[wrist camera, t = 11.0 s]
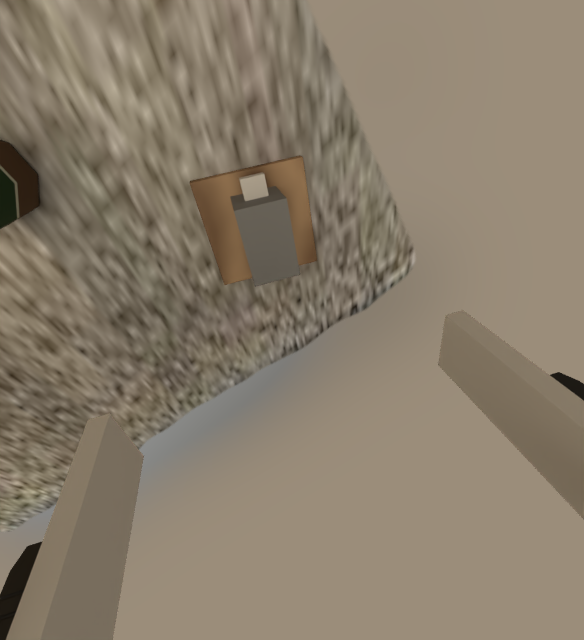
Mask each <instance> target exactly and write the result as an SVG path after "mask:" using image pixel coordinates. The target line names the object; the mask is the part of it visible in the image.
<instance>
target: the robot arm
mask: <svg viewBox="0 0 584 640" xmlns="http://www.w3.org/2000/svg"><path fill="white" fill-rule="evenodd" d="M438 365H439V366H440V368H442V370H443V371H444V372H445V373H446V374H447V375H448V376H449V377H450V378H451V379H452V380H453V381H454V382H455V383H456V384H457V386H458V387H459V388H461V390H462V391H463V392H464V393H465V394H466V395H467V396H468V397H469V398H470V399H471V400H472V401H473V402H474V403H475V405H476V406H477V407H478V408H479V409H480V410H481V411H482V412H483V413H484V414H485V415H486V416H487V417H488V418H489V419H490V421H491V422H492V423H493V424H494V425H495V426H496V427H497V428H498V429H499V430H500V431H501V432H502V433H503V434H504V435H505V436H506V437H507V438H508V440H509V441H510V442H511V443H512V444H513V445H514V446H515V447H516V448H517V449H518V450H519V451H520V452H521V453H522V454H523V456H524V457H525V458H526V459H527V460H528V461H529V462H530V463H531V464H532V465H533V466H534V467H535V468H536V469H537V470H538V471H539V472H540V474H541V475H542V476H543V477H544V478H545V479H546V480H547V481H548V482H549V483H550V484H551V485H552V486H553V487H554V488H555V489H556V491H557V492H558V493H559V494H560V495H561V496H562V497H563V498H564V499H565V500H566V501H567V502H568V503H569V504H570V505H571V506H572V507H573V509H575V511H576V512H577V513H578V514H579V515H580V516H581V517H582V518H583V519H584V384H583V383H581V382H580V381H578V380H575V379H573V378H571V377H569V376H566V375H564V374H562V373H560V372H558V373H555V374H552V375H549V374H547V373H546V372H545V371H543V370H542V369H541V368H539V367H538V366H537V365H535V364H534V363H533V362H531V361H530V360H529V359H527V358H526V357H525V356H523V355H522V354H521V353H519V352H518V351H517V350H515V349H514V348H513V347H511V346H510V345H509V344H507V343H506V342H505V341H503V340H502V339H501V338H499V337H498V336H497V335H495V334H494V333H493V332H491V331H490V330H489V329H487V328H486V327H485V326H483V325H482V324H481V323H479V322H478V321H477V320H475V319H474V318H473V317H471V316H470V315H469V314H467V313H466V312H465V311H463V310H461V311H458V312H454V313H451V314H448V315H445V321H444V328H443V336H442V342H441V349H440V355H439V363H438ZM143 458H144V456H143V455H142V453H141V452H140V451H139V449H138V448H137V447H136V446H135V444H134V443H133V442H132V441H131V439H130V438H129V437H128V436H127V434H126V433H125V432H124V431H123V429H122V428H121V427H120V426H119V424H118V423H117V422H116V420H115V419H114V418H113V417H112V415H111V414H106V415H103V416H99V417H96V418H92V419H89V420H88V421H87V423H86V426H85V429H84V432H83V434H82V437H81V440H80V442H79V445H78V448H77V450H76V453H75V456H74V458H73V461H72V464H71V466H70V469H69V472H68V474H67V477H66V480H65V482H64V485H63V488H62V490H61V493H60V496H59V498H58V501H57V504H56V507H55V509H54V512H53V515H52V517H51V520H50V523H49V525H48V528H47V531H46V533H45V536H44V539H43V541H42V542H39V543H36V544H33V545H30V546H28V547H26V549H25V551H24V552H23V553H22V555H21V556H20V558H19V559H18V561H17V562H16V564H15V565H14V566H13V568H12V569H11V571H10V573H9V575H8V577H7V580H6V582H5V585H4V587H3V590H2V592H1V594H0V640H113V634H114V628H115V622H116V616H117V610H118V604H119V598H120V593H121V587H122V581H123V575H124V569H125V563H126V558H127V551H128V546H129V540H130V534H131V528H132V522H133V516H134V511H135V504H136V499H137V493H138V487H139V481H140V475H141V469H142V463H143Z"/></svg>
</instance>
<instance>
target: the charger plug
mask: <svg viewBox="0 0 584 640" xmlns="http://www.w3.org/2000/svg"><path fill="white" fill-rule="evenodd" d="M239 181H240V185H241V189H242V192H243V194H239V195H235V196H231V197H230V198H231V202H232V206H233V210H234V213H235V217H236V220H237V224H238V228H239V231H240V235H241V238H242V242H243V245H244V249H245V253H246V256H247V260H248V263H249V267H250V270H251V274H252V278H253V281H254V285H255V286H259V285H263V284H267V283H271V282H274V281H278V280H282V279H286V278H289V277H293V276H297V275H300V270H299V264H298V259H297V253H296V248H295V242H294V236H293V231H292V225H291V220H290V214H289V208H288V203H287V198H286V197H285V196H284V195H283V194H282V193H281V191H280V190H279V189H278V188H277V187H276V186H273V187H268V188H267V185H266V180H265V175H264V173H263V172H262V173H258V174H253V175H249V176H245V177H241V178H239Z"/></svg>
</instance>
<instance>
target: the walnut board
mask: <svg viewBox="0 0 584 640" xmlns="http://www.w3.org/2000/svg"><path fill="white" fill-rule="evenodd" d="M262 172H263V173H264V175H265V180H266V185H267V188H268V187H273V186H276V187H277V188H278V189H279V190H280V191H281V193H282V194H283V195H284V196H285V197H286V198H287V203H288V208H289V214H290V220H291V225H292V231H293V236H294V242H295V248H296V253H297V259H298V264H299V265H303V264H307V263H311V262H314V261H317V257H316V250H315V242H314V235H313V228H312V221H311V214H310V206H309V199H308V192H307V185H306V178H305V170H304V163H303V157H302V156H296V157H292V158H288V159H283V160H279V161H275V162H270V163H266V164H262V165H258V166H253V167H249V168H245V169H240V170H236V171H232V172H227V173H223V174H219V175H215V176H210V177H206V178H202V179H197V180H193V181H190V185H191V188H192V191H193V194H194V197H195V200H196V203H197V206H198V209H199V212H200V215H201V218H202V220H203V223H204V226H205V229H206V232H207V235H208V238H209V241H210V244H211V247H212V250H213V252H214V255H215V258H216V261H217V264H218V267H219V270H220V273H221V276H222V279H223V282H224V285H227V284H230V283H234V282H238V281H242V280H246V279H250V278H252V274H251V270H250V267H249V263H248V260H247V256H246V253H245V249H244V245H243V242H242V238H241V235H240V231H239V228H238V224H237V220H236V217H235V213H234V210H233V206H232V202H231V198H230V197H231V196H235V195H239V194H243V192H242V189H241V185H240V181H239V178H241V177H245V176H249V175H253V174H258V173H262Z"/></svg>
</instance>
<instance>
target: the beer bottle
mask: <svg viewBox="0 0 584 640" xmlns="http://www.w3.org/2000/svg"><path fill="white" fill-rule="evenodd" d="M37 206H39V196H38V175H37V174H36V172H35V171H34V170H33V169H32V168H31V167H30V166H29V165H28V164H27V163H26V161H25V160H24V159H23V158H22V157H21V156H20V155H19V154H18V153H17V152H16V150H15V149H14V148H13V147H12V146H11V145H10V144H9V143H7V142H3V141H0V229H1V228H3V227H5V226H7V225H8V224H10V223H12V222H14V221H15V220H17V219H19V218H20V217H22V216H24V215H25V214H27V213H29V212H30V211H32V210H33V209H35V208H36V207H37Z"/></svg>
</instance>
